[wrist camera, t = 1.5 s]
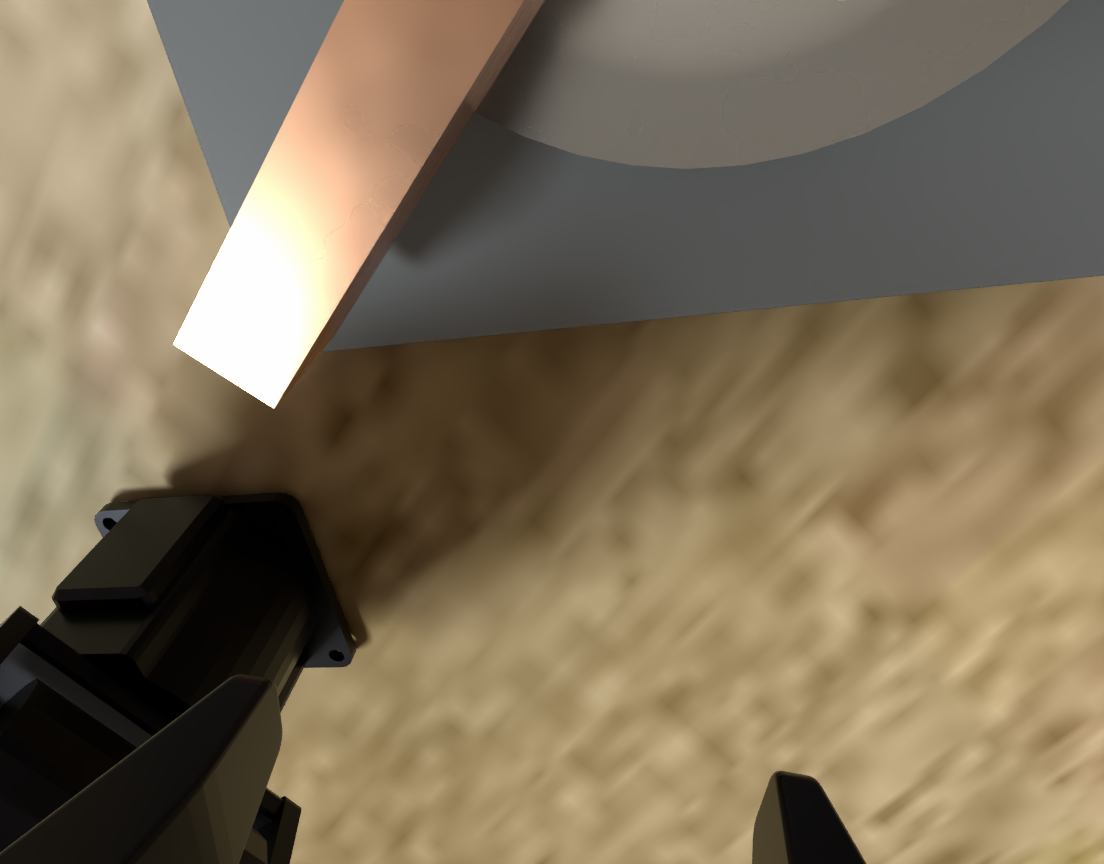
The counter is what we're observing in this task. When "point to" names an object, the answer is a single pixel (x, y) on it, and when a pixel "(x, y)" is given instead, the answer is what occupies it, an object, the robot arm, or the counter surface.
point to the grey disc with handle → (549, 124)
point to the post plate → (687, 194)
